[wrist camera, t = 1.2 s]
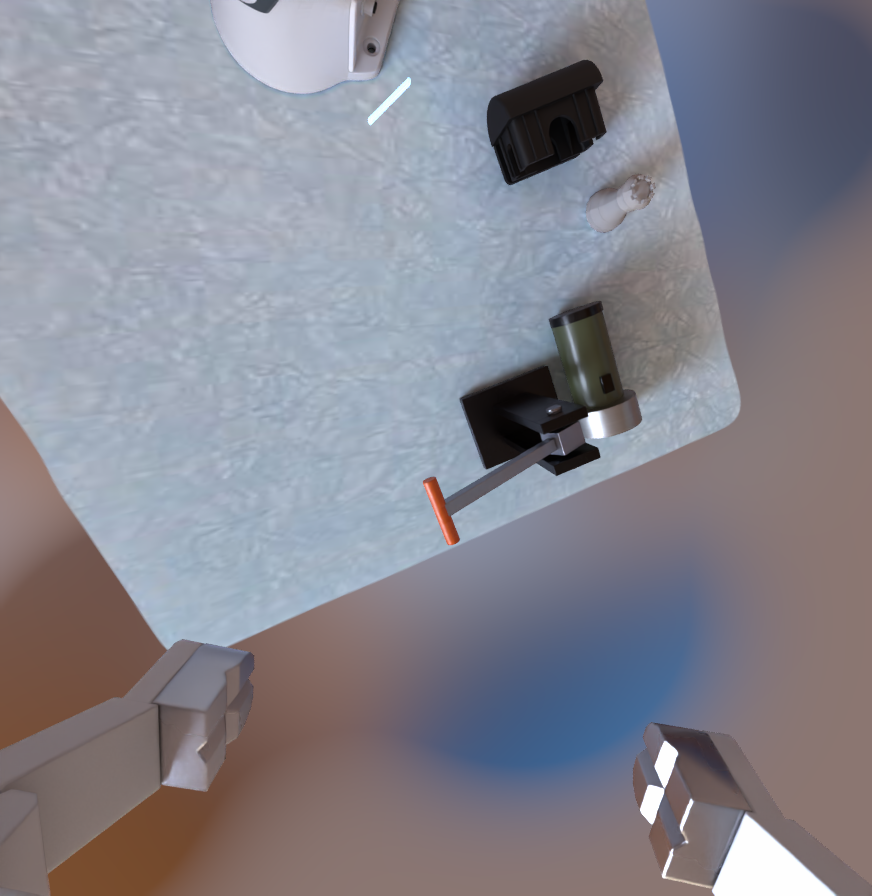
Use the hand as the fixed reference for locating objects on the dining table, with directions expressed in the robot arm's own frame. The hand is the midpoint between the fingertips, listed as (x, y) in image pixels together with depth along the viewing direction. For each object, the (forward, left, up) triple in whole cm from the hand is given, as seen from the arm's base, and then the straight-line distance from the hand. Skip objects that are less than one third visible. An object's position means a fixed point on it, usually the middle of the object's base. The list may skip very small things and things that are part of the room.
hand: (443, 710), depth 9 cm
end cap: (-35, +1, -45) cm, 57 cm away
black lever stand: (-8, +15, -45) cm, 48 cm away
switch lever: (-3, +11, -30) cm, 32 cm away
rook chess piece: (-33, +12, -45) cm, 57 cm away
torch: (-17, +19, -45) cm, 52 cm away
